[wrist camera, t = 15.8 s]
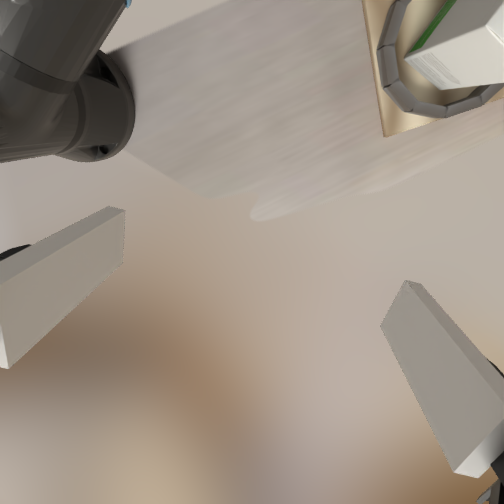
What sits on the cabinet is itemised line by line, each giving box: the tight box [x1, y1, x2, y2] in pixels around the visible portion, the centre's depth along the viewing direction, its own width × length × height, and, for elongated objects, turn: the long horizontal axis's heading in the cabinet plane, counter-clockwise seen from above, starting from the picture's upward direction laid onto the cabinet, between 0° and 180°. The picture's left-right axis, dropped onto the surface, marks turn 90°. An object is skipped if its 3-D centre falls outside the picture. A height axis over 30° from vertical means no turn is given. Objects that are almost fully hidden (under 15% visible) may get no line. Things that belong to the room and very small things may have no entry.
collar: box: [362, 0, 504, 137], centre depth 33 cm, size 16×16×4 cm
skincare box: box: [404, 0, 504, 90], centre depth 27 cm, size 8×7×16 cm
